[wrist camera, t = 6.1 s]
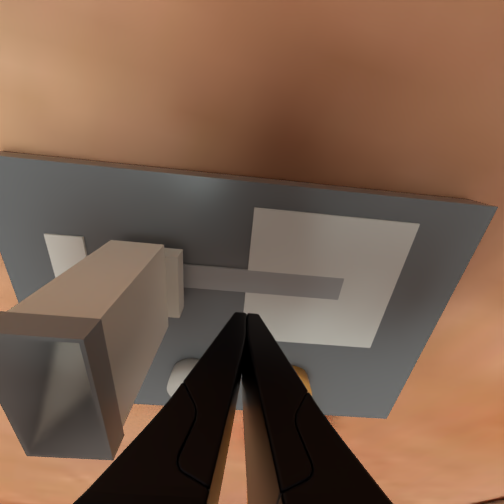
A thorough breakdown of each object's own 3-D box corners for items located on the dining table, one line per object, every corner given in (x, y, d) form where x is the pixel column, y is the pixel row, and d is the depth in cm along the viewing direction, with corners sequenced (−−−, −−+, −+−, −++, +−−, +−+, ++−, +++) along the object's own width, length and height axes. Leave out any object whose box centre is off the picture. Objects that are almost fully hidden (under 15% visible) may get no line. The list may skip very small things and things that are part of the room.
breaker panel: (467, 199, 11) (523, 213, 9) (375, 396, 17) (394, 435, 15) (2, 151, 10) (-69, 153, 8) (70, 377, 16) (40, 415, 14)
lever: (182, 236, 10) (103, 341, 5) (184, 317, 12) (128, 460, 6) (108, 229, 10) (-59, 329, 4) (121, 312, 12) (10, 455, 6)
